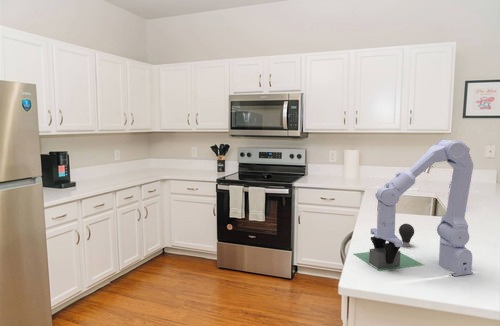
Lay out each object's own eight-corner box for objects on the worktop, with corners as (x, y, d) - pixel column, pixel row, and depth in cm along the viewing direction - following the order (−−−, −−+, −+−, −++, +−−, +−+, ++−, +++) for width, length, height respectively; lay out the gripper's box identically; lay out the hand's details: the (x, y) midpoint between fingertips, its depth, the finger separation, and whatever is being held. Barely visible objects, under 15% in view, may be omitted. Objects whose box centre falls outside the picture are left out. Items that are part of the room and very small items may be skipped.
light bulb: (409, 245, 141) (410, 221, 140) (416, 250, 136) (417, 225, 134) (395, 245, 141) (396, 222, 140) (402, 250, 135) (403, 226, 134)
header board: (424, 267, 119) (424, 256, 119) (378, 273, 115) (379, 262, 114) (393, 251, 135) (394, 241, 134) (352, 256, 130) (353, 246, 130)
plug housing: (399, 265, 118) (400, 251, 118) (377, 268, 116) (378, 254, 116) (390, 260, 123) (390, 246, 123) (369, 262, 121) (369, 248, 120)
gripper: (363, 217, 124) (362, 253, 125) (389, 228, 110) (388, 269, 111) (380, 215, 126) (379, 251, 127) (408, 227, 112) (406, 267, 113)
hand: (384, 260), depth 119 cm, fingers closed on plug housing, 5 cm apart
